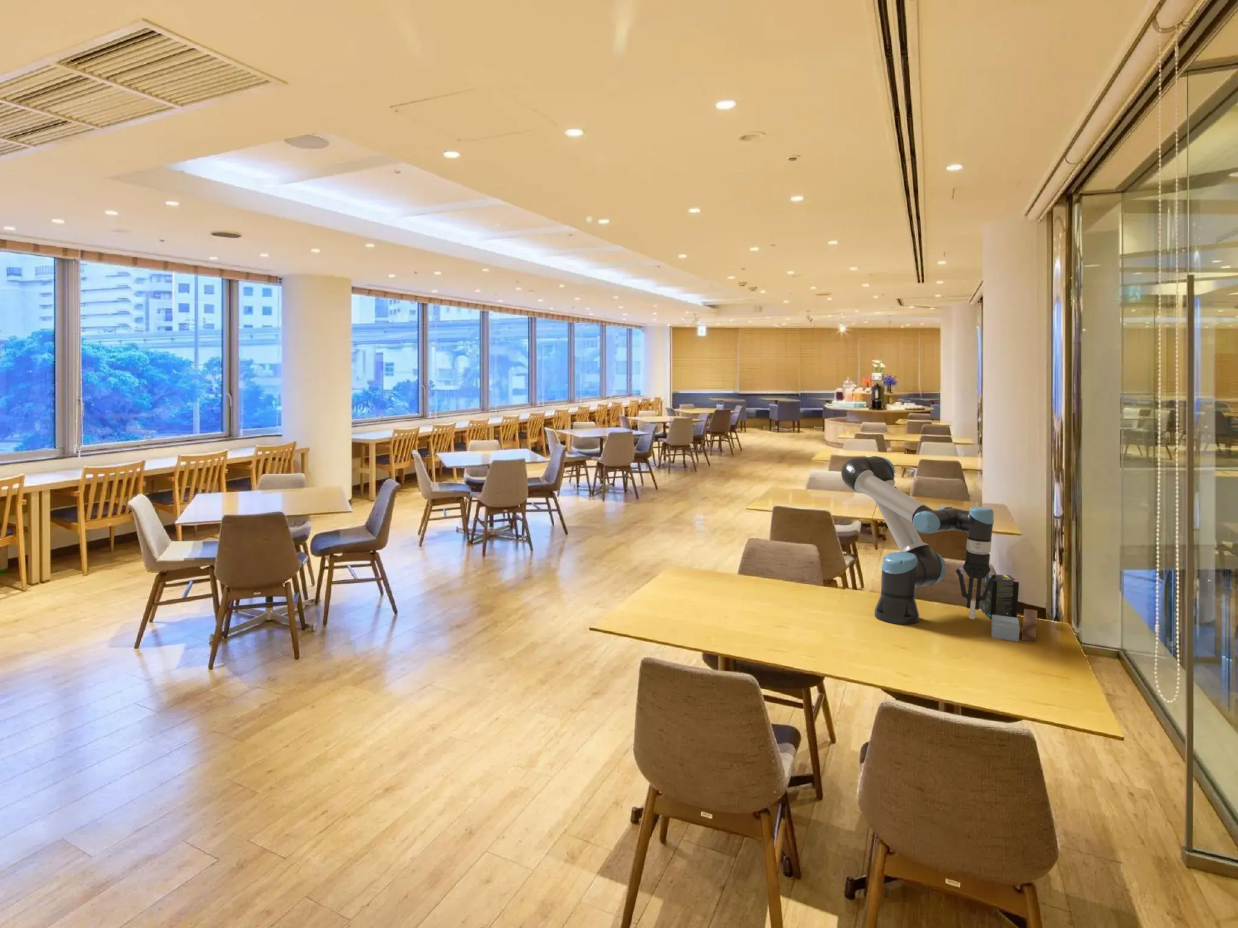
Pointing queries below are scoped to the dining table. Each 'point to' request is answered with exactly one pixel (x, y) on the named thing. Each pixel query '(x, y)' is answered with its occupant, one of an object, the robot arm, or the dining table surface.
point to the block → (1005, 628)
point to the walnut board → (1029, 625)
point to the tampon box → (1001, 596)
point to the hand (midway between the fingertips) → (971, 617)
